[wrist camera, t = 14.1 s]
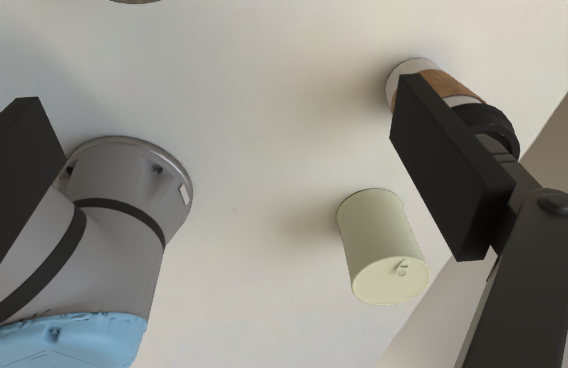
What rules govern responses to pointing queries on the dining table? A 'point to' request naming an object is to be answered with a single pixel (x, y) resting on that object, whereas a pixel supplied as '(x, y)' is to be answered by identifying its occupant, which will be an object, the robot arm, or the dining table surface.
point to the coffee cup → (458, 102)
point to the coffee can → (135, 1)
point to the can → (381, 249)
